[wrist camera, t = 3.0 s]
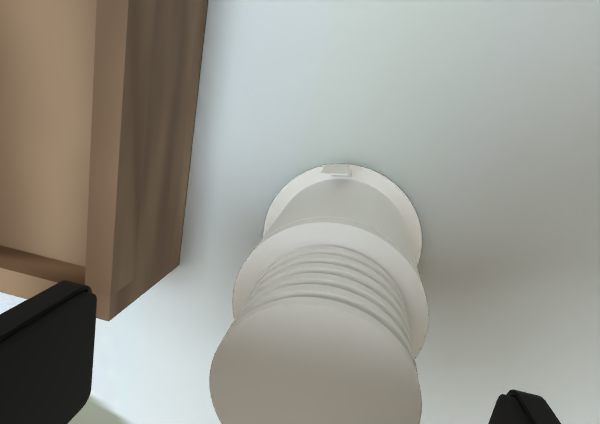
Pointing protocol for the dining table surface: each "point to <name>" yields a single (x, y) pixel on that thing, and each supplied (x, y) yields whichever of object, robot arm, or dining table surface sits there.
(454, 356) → the dining table surface
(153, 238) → the walnut stand
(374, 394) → the downlight
